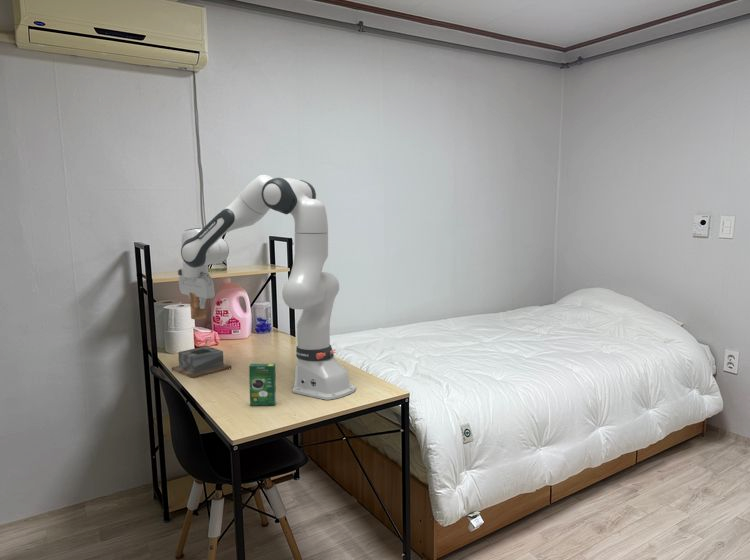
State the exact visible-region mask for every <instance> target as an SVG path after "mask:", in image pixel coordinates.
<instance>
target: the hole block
mask: <svg viewBox="0 0 750 560" xmlns="http://www.w3.org/2000/svg"><path fill="white" fill-rule="evenodd" d="M177 354H178V365H176V366H171V370H172V371H174V372H176V373H178V374H180V375H184V376H185V375H186V376H185V377H187V376H188V378H190V379H192V378H193V379H197V378H200V377H204V376H208V374H209V375H212V374H215V373H220V372H224V371H227V370H230V369H229V368H231V369H232V365H229V364H227V363H224V362H225V361H224V351H223V350H221V349H217V348H214V347H211V346H208V345H205V346H201V347H200V346H199V347H195V348H191V349H186V350H183V351H178V353H177ZM226 369H227V370H226ZM223 370H224V371H223Z"/></svg>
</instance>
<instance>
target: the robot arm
mask: <svg viewBox="0 0 750 560" xmlns="http://www.w3.org/2000/svg"><path fill="white" fill-rule="evenodd" d="M270 210H273V211H276V212H279V213H281V214H284V215H289V214H290V215H291V216H292V217H293V220H294V222H293V223H294V256H293V257H294V258H293V263H292V267H291V270H290V274H289V277H288V279H287V281H286V283H285V284H284V286H283V287H282V292H281V295H282V300H283V301H284V304H286V306H287V307H288V308H290V309H293V310H302V313H301V315H300V317H299V319H298V320H297V323H296V336H297V337H296V341H297V344H296V347H295V349H296V350H295V353H296V358H297V361H296V366H295V369H294V370H295V374H294V385H293V388H292V393H294V394H299V395H302V396H306V397H311V398H316V399H322V400H325V401H326V400H327V401H328V400H329V401H330V400H336V399H340V398H344V397H345V396H348V395H350V394H352V393H355V392H356V391H357V386H356V385H354V384H352V383H350V378H349V374H348V371H347V370H346V368H345V367H343V366H342V365H341V363H339V361H338V360H337V359H336V357H335V355H334V354H336V349H333V348H332V345H331V344H330V343H331V341H330V340H331V339H330V337H331V336H330V335H331V333H330V327H331V326H330V325H331V317H332V312H333V307H334V304H335V300H336V297H337V295H338V294H339V291H340V283H339V279H338V278H337V276H335V275H334V274H333V273H330V272H326V271H323V267H324V265H325V262H326V261H327V260H328V257H329V225H328V215H327V211H326V206H325V204H324V203H323V201H321V200H319V199H317V193H316V190H315V187H314V186H313V185H312V184H311V183H310V182H308V181H305V180H302V179H296V178H292V177H275V178H274V177H273V176H271V175H268V174H260V175H258V176H256V177H255V178H254V179H252V181H250V182H249V183H248V184H247V185H246V186H244V188H243V189H242V190H241V192H240V193H239V194H238V195H237V196H236V197H235V198H234V199H233V200H232V201H231V202H230V203H229V204H228V205H227V206H226V207H225V208H224V209H222V210H221V211H220V212H219V213H217V215H215V216H214V217H213V218H212V219H211V220H210V221H209V222H208V223H207V224H206V225H204V227H202V228H201V227H196V228H189V229H185V230H184V231H183V232H182V236H181V248H180V256H181V258H182V267H181V268H179V269H177V272H176V273H177V276H178V286H179V292H180V294H182V295H186V296H188V299H189V300H190V293H195V295H196V297H199V300H200V303H199V304H198V306H199V309H204V308H205V306H206V301H207V299H214V298H215V295H216V293H215V291H216V290H215V284H214V281H213V280H214V279H212V277H211V275H210V273H209V265H214V264H220V263H222V262H225V261H226V260H227V259H228V257H229V252H230V247H229V245H228V243H227V241H226V240H225V239H224V238H222V237H223V236H224V235H225V234H227V233H229V232H232V231H234V230H237V229H242V228H246V227H250V226H253V225H255V224H256V223H257V222H259V221H261V219H263V217H264V216H265V215H266V214H267V213H268V212H269V211H270Z"/></svg>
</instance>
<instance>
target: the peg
mask: <svg viewBox="0 0 750 560" xmlns="http://www.w3.org/2000/svg"><path fill="white" fill-rule="evenodd" d="M199 303H200V300H199V297H196V295H195V293H190V299H189V305H190V319H191V320H195V321H197V320H203V319H204V320H205V319H207V312H206V311H207V310H206V309H207V307H206V305H205V308H204V309H199V306H198V304H199Z"/></svg>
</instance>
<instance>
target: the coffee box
mask: <svg viewBox="0 0 750 560" xmlns="http://www.w3.org/2000/svg"><path fill="white" fill-rule="evenodd" d="M248 368H249V369H248V370H249V371H248V373H249V374H248V375H249V376H248V377H249V378H248V381H249V405H250V406H251V407H252V406H254V407H259V406H276V403H277V389H276V388H277V386H276V385H277V384H276V383H277V382H276V381H277V380H276V379H277V378H276V374H277V373H276V363H250V364H249V367H248Z"/></svg>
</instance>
